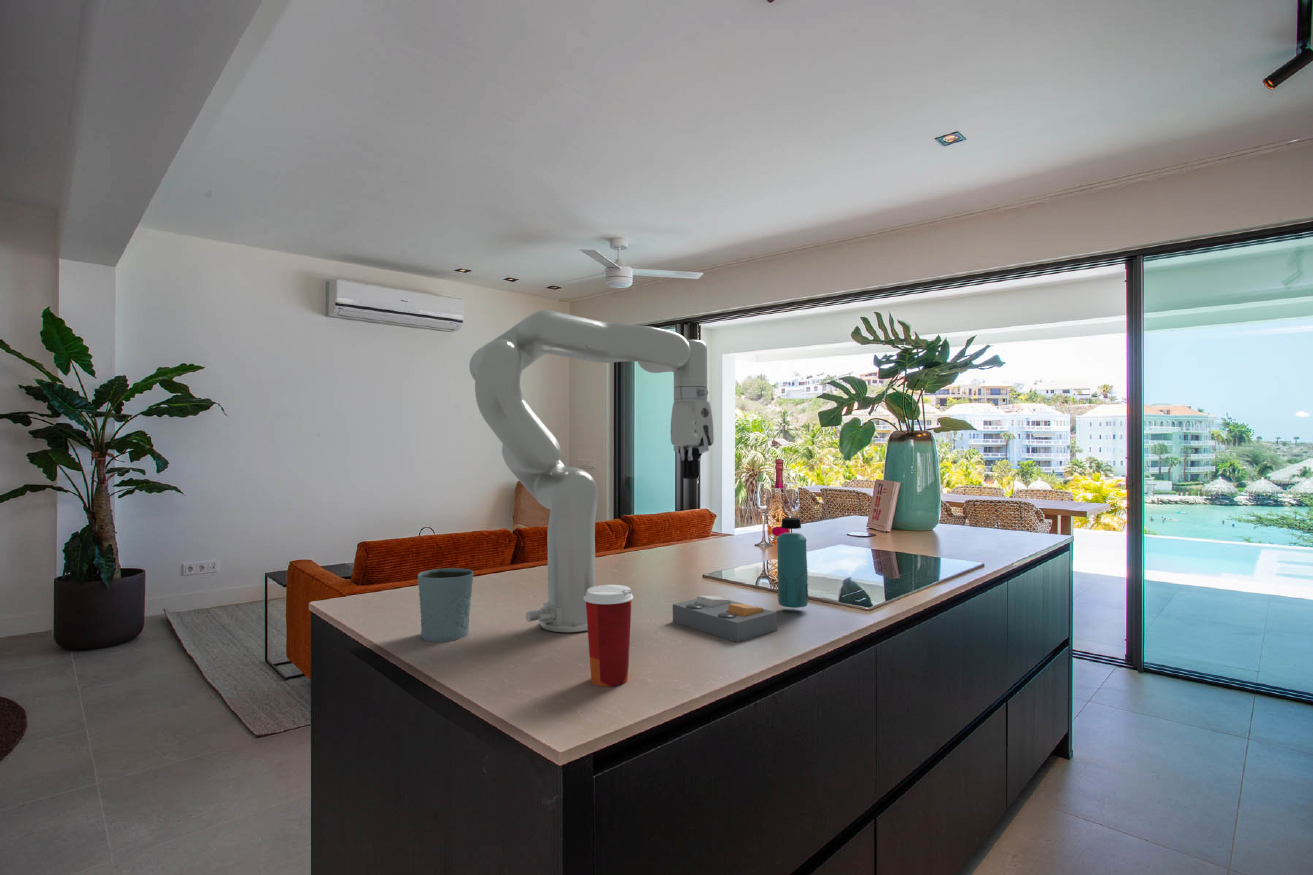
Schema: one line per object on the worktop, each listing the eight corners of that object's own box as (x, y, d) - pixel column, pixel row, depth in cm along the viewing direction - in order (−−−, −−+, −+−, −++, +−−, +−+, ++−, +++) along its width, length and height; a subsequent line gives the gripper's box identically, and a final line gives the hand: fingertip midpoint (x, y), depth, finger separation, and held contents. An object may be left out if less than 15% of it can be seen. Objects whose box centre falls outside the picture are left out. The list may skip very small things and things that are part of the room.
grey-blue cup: (408, 635, 124) (408, 573, 124) (456, 624, 131) (456, 565, 131) (435, 646, 117) (434, 580, 117) (484, 634, 124) (483, 571, 125)
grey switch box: (737, 641, 118) (737, 621, 118) (672, 621, 132) (672, 603, 132) (776, 630, 125) (776, 611, 125) (711, 611, 139) (711, 594, 139)
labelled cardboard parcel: (744, 618, 122) (745, 607, 122) (727, 614, 126) (728, 603, 126) (761, 618, 125) (762, 607, 126) (745, 613, 129) (746, 603, 129)
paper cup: (642, 675, 101) (641, 586, 101) (619, 692, 94) (618, 597, 95) (599, 668, 105) (598, 582, 105) (574, 684, 98) (573, 592, 98)
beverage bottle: (811, 614, 135) (810, 519, 135) (779, 615, 135) (778, 519, 136) (805, 606, 142) (803, 515, 142) (774, 607, 142) (773, 516, 142)
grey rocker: (711, 609, 129) (712, 598, 129) (696, 605, 133) (697, 595, 133) (728, 609, 132) (729, 599, 133) (713, 605, 136) (714, 595, 136)
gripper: (726, 394, 140) (726, 479, 140) (682, 398, 152) (682, 476, 152) (699, 393, 136) (700, 480, 135) (656, 397, 148) (657, 477, 147)
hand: (690, 478), depth 144 cm, fingers closed
